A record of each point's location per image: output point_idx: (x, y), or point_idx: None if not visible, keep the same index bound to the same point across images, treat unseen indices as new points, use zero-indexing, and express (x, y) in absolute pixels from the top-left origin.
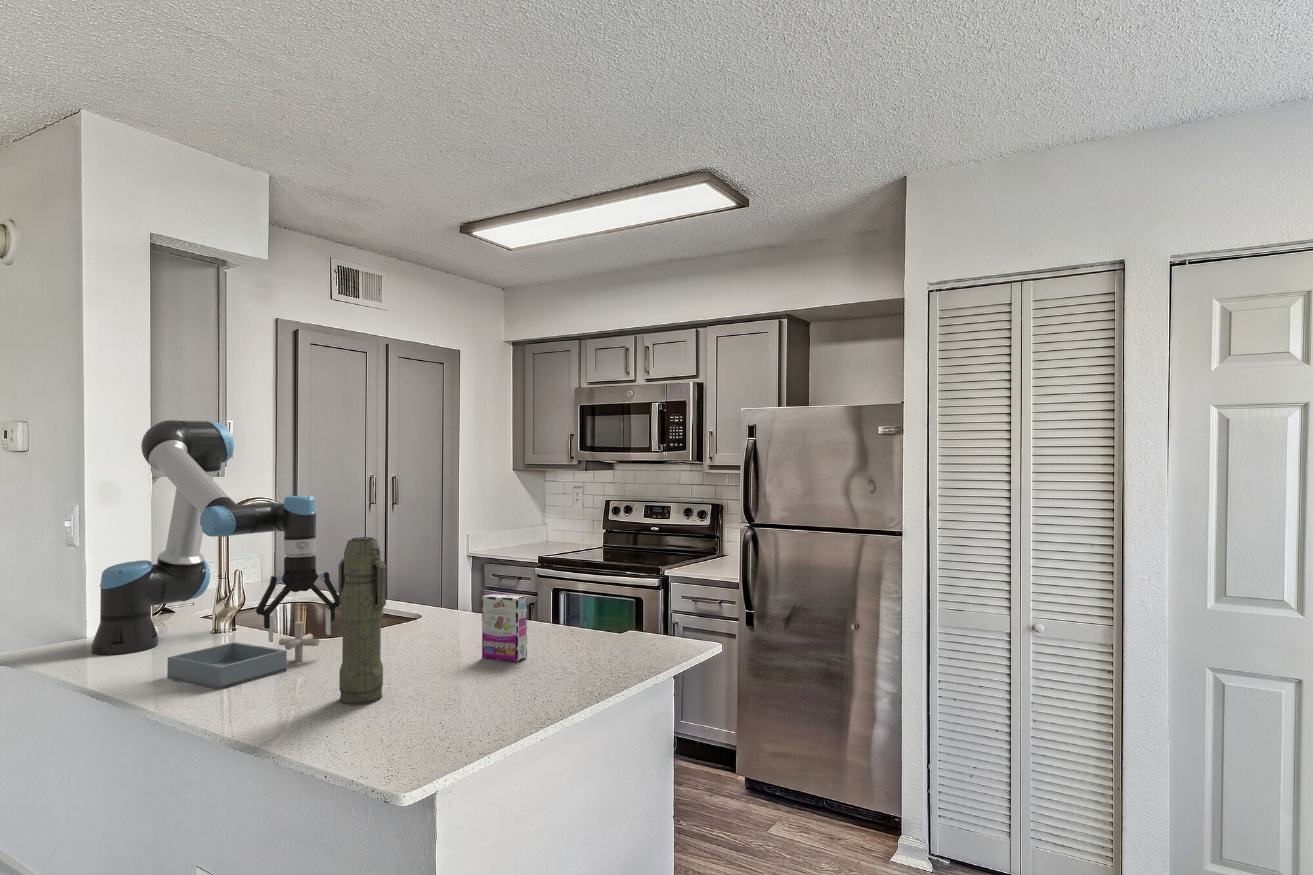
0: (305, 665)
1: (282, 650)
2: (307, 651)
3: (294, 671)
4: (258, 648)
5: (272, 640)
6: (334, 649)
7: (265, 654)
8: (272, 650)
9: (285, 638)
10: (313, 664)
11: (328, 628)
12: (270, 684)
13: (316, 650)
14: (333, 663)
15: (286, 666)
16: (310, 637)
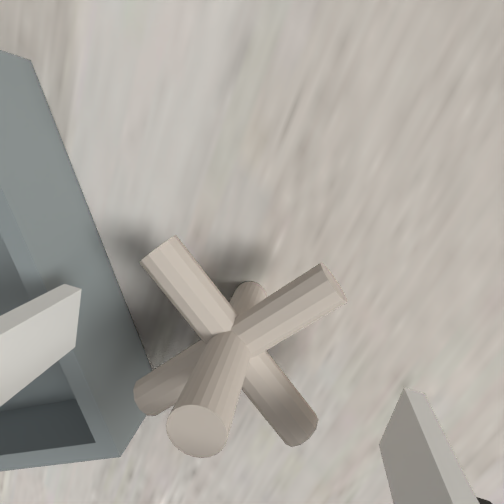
0: None
1: (106, 440)
2: (372, 132)
3: None
4: (32, 291)
5: (66, 349)
6: (497, 205)
7: None
8: (75, 391)
9: (167, 285)
10: None
11: (394, 483)
12: (78, 485)
13: (418, 148)
14: (335, 433)
15: None
16: (320, 317)
